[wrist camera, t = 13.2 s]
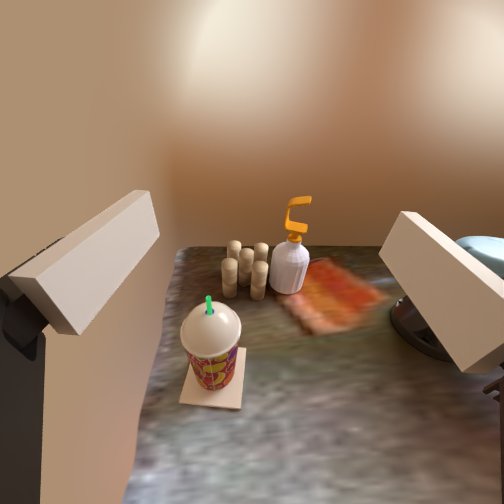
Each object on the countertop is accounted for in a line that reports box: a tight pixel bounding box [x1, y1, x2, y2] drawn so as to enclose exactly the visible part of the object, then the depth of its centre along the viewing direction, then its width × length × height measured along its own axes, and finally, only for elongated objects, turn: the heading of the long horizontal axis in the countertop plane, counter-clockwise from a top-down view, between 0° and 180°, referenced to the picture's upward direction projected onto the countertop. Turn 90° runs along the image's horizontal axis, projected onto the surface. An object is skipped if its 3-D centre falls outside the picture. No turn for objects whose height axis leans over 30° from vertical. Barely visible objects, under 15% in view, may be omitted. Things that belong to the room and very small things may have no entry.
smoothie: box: [180, 296, 241, 391], centre depth 31 cm, size 8×8×20 cm
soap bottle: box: [269, 196, 311, 294], centre depth 50 cm, size 9×9×25 cm
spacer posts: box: [222, 241, 268, 301], centre depth 53 cm, size 11×11×10 cm
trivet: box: [179, 347, 246, 410], centre depth 38 cm, size 10×10×1 cm
